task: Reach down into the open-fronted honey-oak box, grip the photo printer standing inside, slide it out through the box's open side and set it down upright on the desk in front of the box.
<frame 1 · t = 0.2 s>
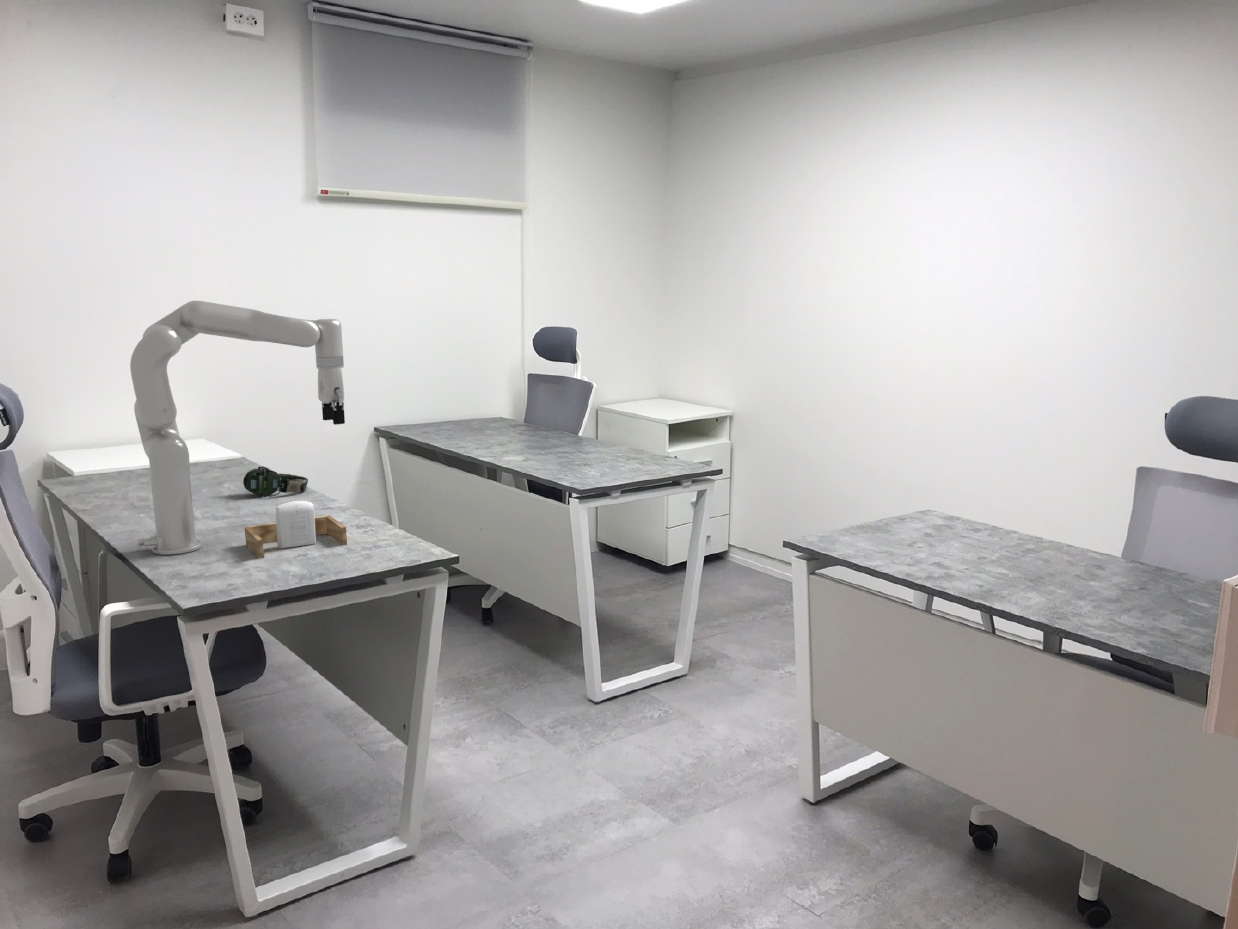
hand: (333, 421, 277), 31 cm above the table, tool pointing down, fingers open, 9 cm apart
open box: (295, 543, 264), on the table
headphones: (277, 494, 325), on the table
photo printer: (297, 546, 263), on the table
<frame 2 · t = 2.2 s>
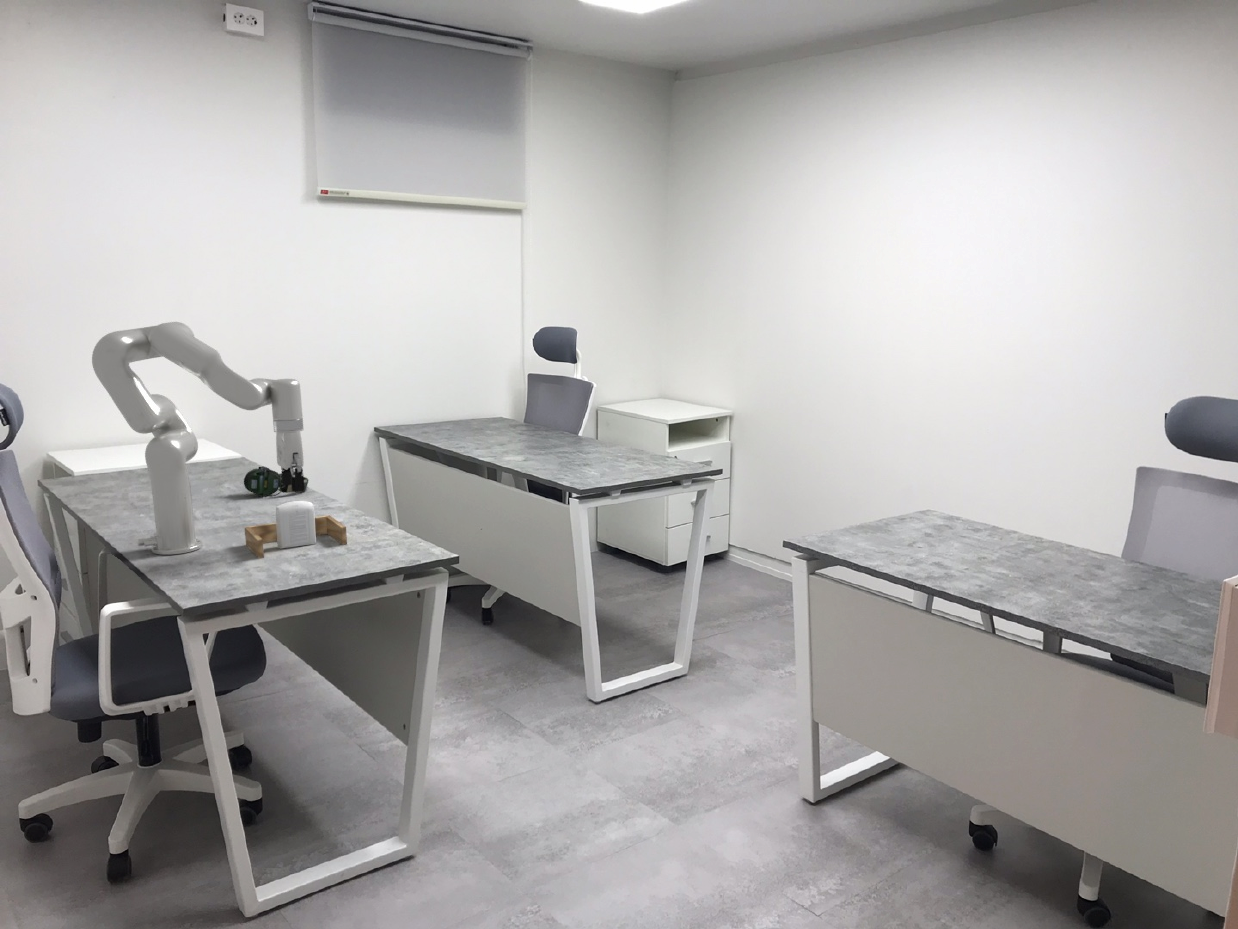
hand: (293, 487, 259), 16 cm above the table, tool pointing down, fingers open, 9 cm apart
nothing on the table moved.
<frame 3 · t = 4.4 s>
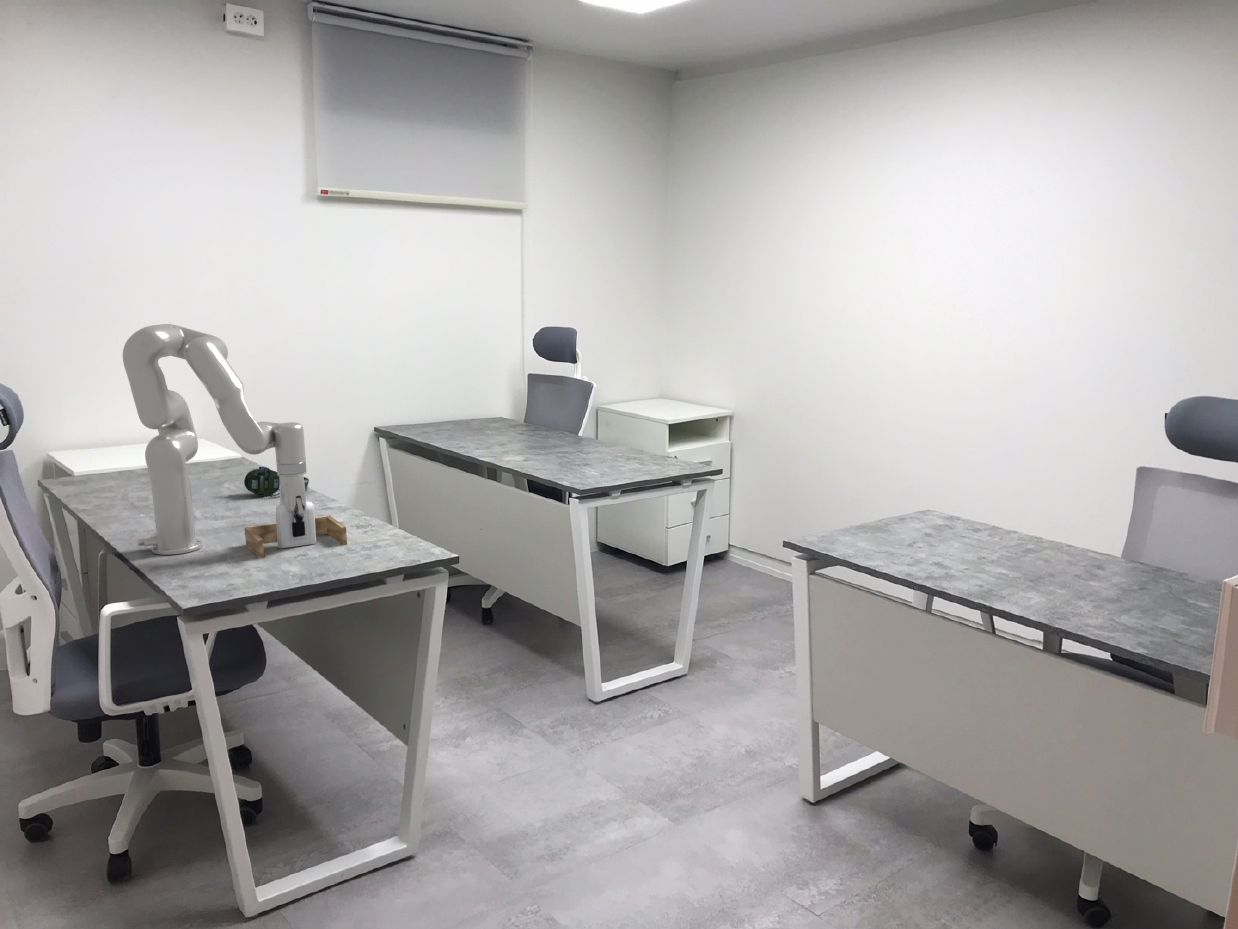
hand: (296, 533, 262), 3 cm above the table, tool pointing down, fingers closed on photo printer, 4 cm apart
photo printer: (297, 546, 263), on the table, touching gripper
everything else where it was.
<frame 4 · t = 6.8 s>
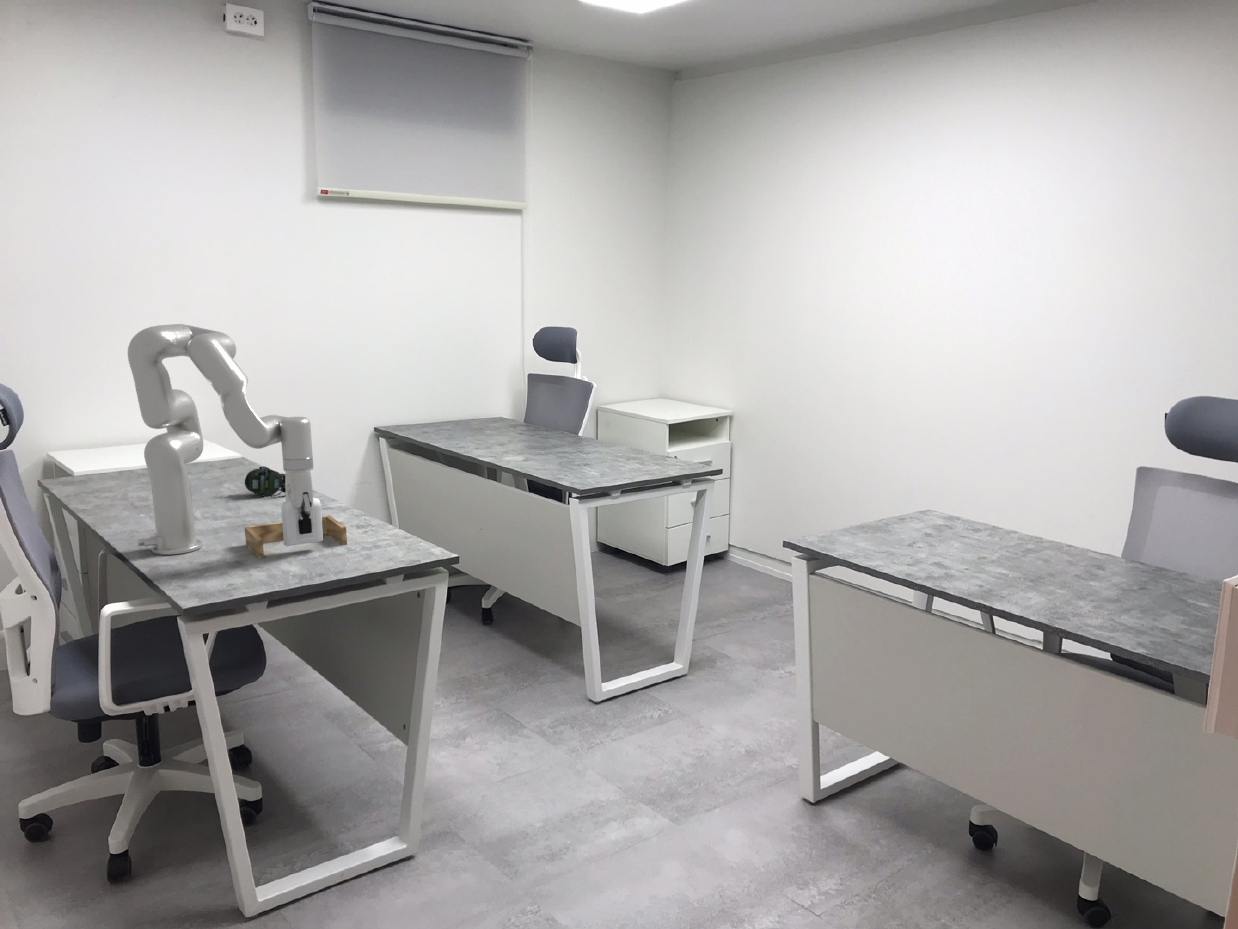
hand: (302, 530, 255), 6 cm above the table, tool pointing down, fingers closed on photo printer, 4 cm apart
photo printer: (303, 543, 256), point 2 cm above the table, touching gripper
everything else where it was.
when the fingers open (4 cm above the table, at t = 9.6 s): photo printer stays where it is, on the table.
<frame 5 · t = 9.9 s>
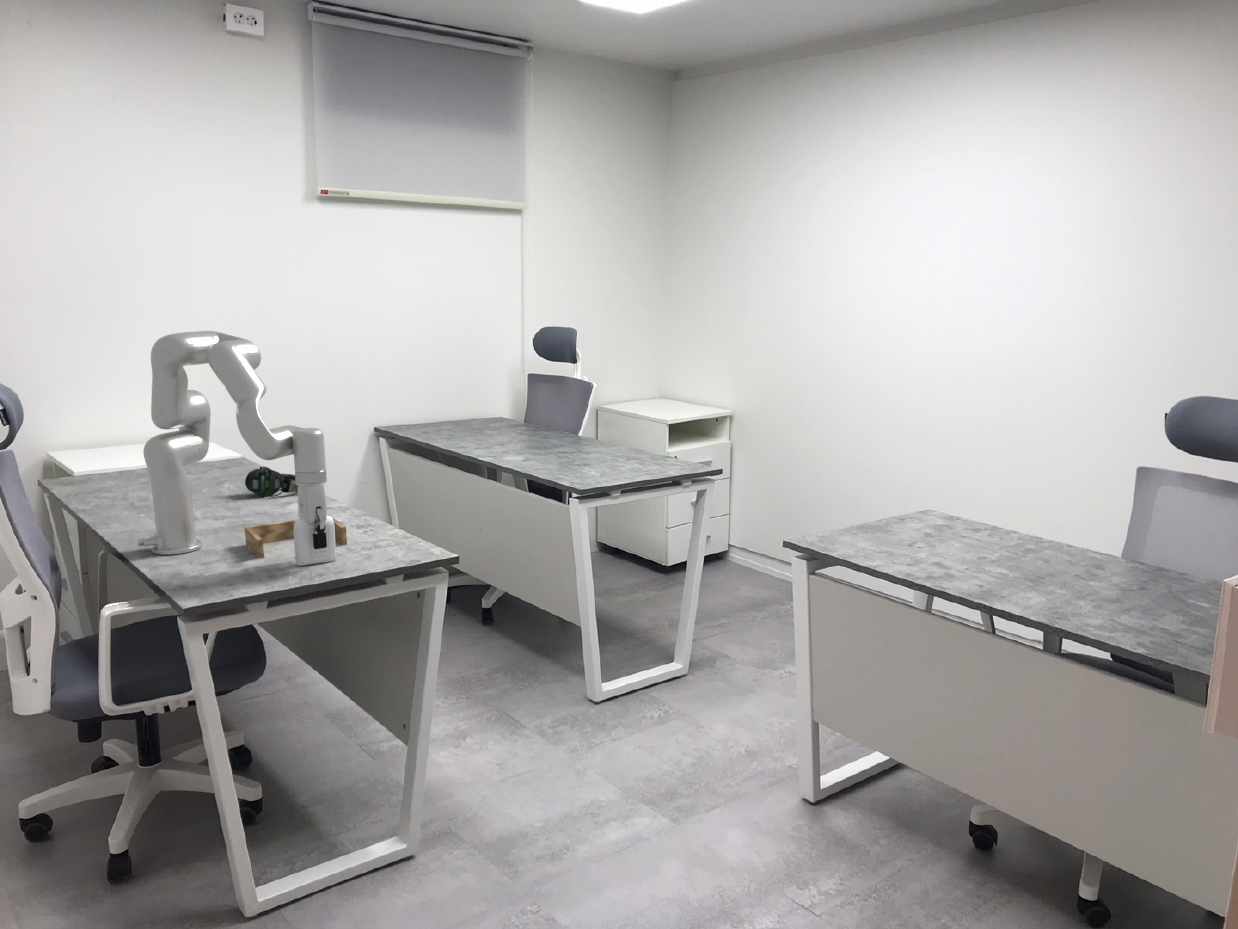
hand: (315, 544, 246), 5 cm above the table, tool pointing down, fingers open, 7 cm apart
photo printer: (316, 563, 247), on the table
everything else where it was.
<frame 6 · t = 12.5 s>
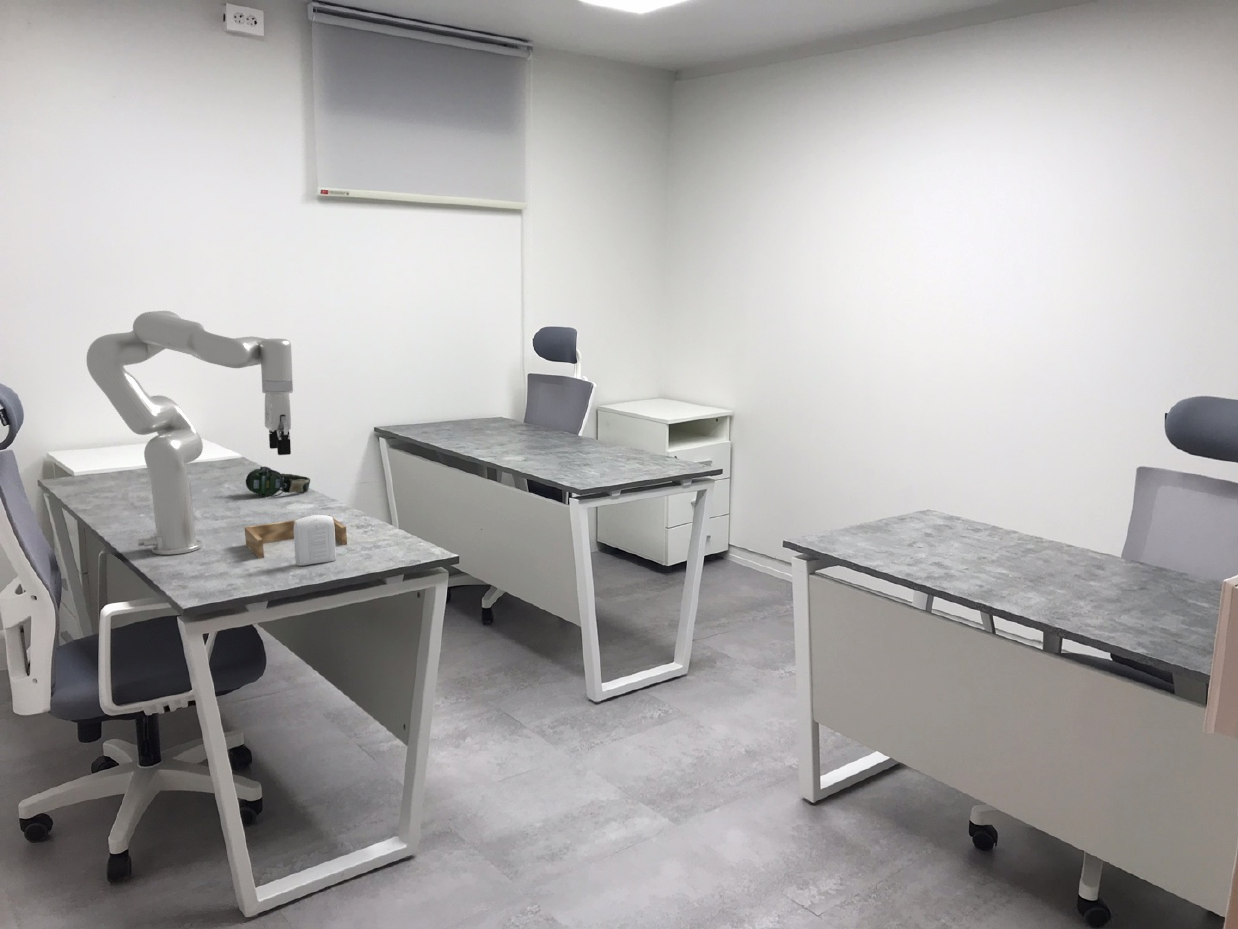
hand: (280, 451, 252), 27 cm above the table, tool pointing down, fingers open, 9 cm apart
nothing on the table moved.
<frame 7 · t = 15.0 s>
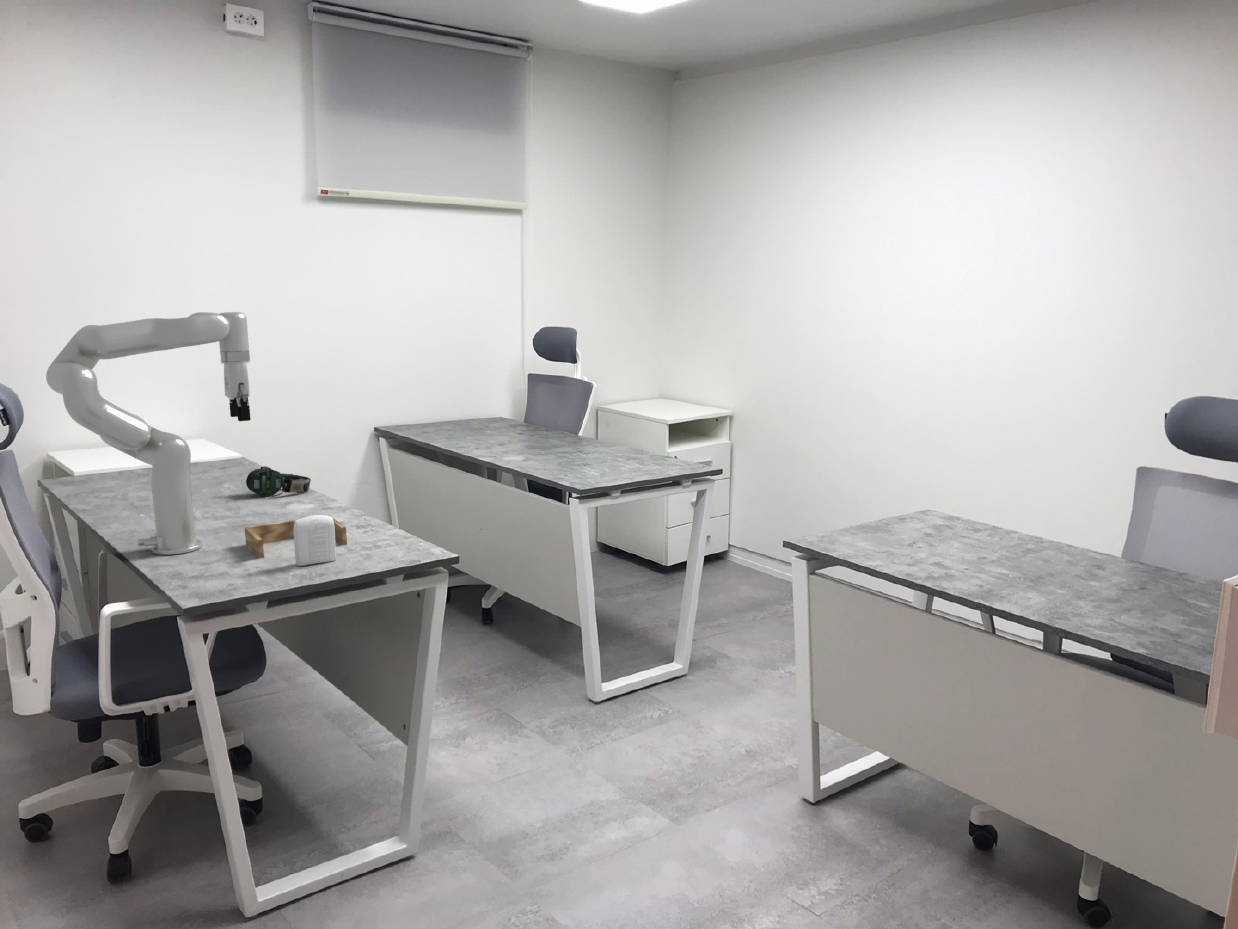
hand: (240, 418, 268), 33 cm above the table, tool pointing down, fingers open, 9 cm apart
nothing on the table moved.
at the end: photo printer inside the target area (0.1 cm from its centre), on the table; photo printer tilted 0°; the gripper is holding nothing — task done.
